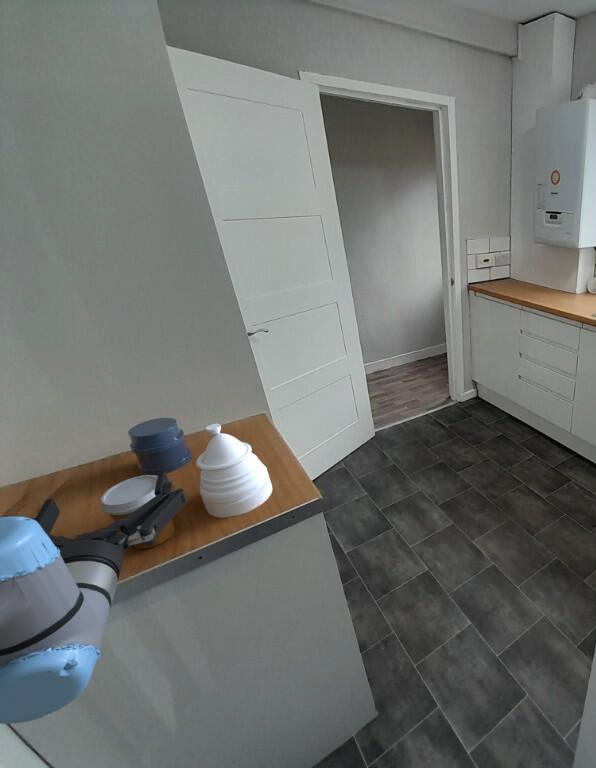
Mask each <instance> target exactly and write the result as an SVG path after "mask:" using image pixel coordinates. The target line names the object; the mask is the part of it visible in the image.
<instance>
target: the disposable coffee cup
mask: <svg viewBox="0 0 596 768" xmlns="http://www.w3.org/2000/svg"><path fill="white" fill-rule="evenodd" d="M157 478H158V476H155V475H143V474H142V475H137V476H135V477H131V478H128V479H125V480H122V481H121V482H118V483H117V484H115V485H113V486H111V487H110V488H108V489H107V490H106V491H105V492H104V493H103V494H102V496H101V498H100V502H101V503H100V509H101V511H102V512H105V513H106V514H108V515H109V516H110V517H111V519H112V520H113V522H115V521H116V520H118V519H124V518H126V517H127V516H128V515H130V514H131V513H133V512H134V511H135V510H137V509H138V508H140V507H141V506H143V505H144V504H145V503H147V502H148V501H150V500H151V499H152V498H154V497H155V493H154V491H155V487H156V482H157ZM175 531H176V530H175V525H174V521H173V518H172V519H171V521H170V522H169V523H168V524H167V525H166V526H165V527H164V528H163V529H162V530H161V532H160V533H159V534H158V536H157V539H156V541H155V543H154V544H152V545H149V546H145V544H144V542H142V543H138V544H134V545H133V546H134V547H135V548H137V549H142V550H145V549H150V548H154V547H156V546H159V545H161V544H162V543H165V542H166V541H168V540H169V539H170V538H171V537H172V536H173V534H174V533H175Z"/></svg>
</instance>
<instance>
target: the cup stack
mask: <svg viewBox="0 0 596 768" xmlns="http://www.w3.org/2000/svg"><path fill="white" fill-rule="evenodd" d="M127 435H128V437H129V439H130V444H129V447H130V450H131V452H132V453H133V454H135V456H136V459H137V461H138V464H137V467H138V470H139V471H140V473H141V475H142V476H143V475H155V476H158V473H159V472H160V471H165V473H166V474H169V473H172V472H175V471H177V470H179V469H181V468H183V467H184V466H186V465H187V464H188V463H191V462H192V461H193V454H192V451H191V449H190V448H188V446H187V443H186V441H185V438H186V434H185V432H184V430H183V429H181V428H180V426H179V424H178V420H177V419H176V418H173V417H158V418H153V419H149V420H145V421H143V422H140V423H138V424H136V425H134V426H132V427H131V428H130V429H128V431H127Z"/></svg>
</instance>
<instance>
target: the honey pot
mask: <svg viewBox="0 0 596 768" xmlns="http://www.w3.org/2000/svg"><path fill="white" fill-rule="evenodd" d="M221 429H222V427H221V424H220V423H212V424H209V425H207V426H206V427H205V430H206V432H207V433H208V434H209V435H211V436H213V437H212V438H211V439H210V440H209V442H208V444H207V446H206V448H205V451H203V452H202V453H201V454H200V455H199V456H198V457H197V458H196V466H197V468H198V469H200V470H201V471H200V474H199V475H200V476H199V478H200V481H199V482H200V483H199V489H198V490H199V491H198V492H199V494H200V497H201V499H202V502H203V504H204V507H205V509H206V511H207V512H208V514H209V515H211V516H212V517H216V518H231V517H232V518H233V517H237V516H240V515H243V514H247V513H248V512H251V511H253V510H255V509H256V508H258V507H260V506H261V505H262V504H264V503H265V502H266V501H267V500H268V499H269V498H270V496H271V495H272V492H273V484H272V481H271V477H270V475H269V472H268V468H267V467H266V465H265V464H264V463H263V462H262V461H261V460H260V459H259V457H258V456H257V455H256V454H254V453H253V452H252V451H253V450H252V446H251V444H249V443H247V442H244V441H241V440H239V439H238V438H236V437H235V436H233V435H231V434H228V433H221Z"/></svg>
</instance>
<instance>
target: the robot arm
mask: <svg viewBox="0 0 596 768" xmlns="http://www.w3.org/2000/svg"><path fill="white" fill-rule="evenodd" d="M154 493H155V497H154V498H152V499H151V500H150V501H148V502H147V503H145V504H144V505H143V506H141V507H140V508H138V509H137V510H135V511H134V512H133V513H131V514H130V515H128V516H127V517H126V518H124V519H118V520H116V521H113V522H112V523H110V524H109V525H107V526H106V527H103V528H102V527H101V528H99V529H97V530H93V531H91V532H85V533H80V534H77V535H76V536H75V537H73V538H69V537H65V536H63V535H58V536H55V535H53V534H51V531H52V530H53V528H54V526H55V524H56V522H57V520H58V518H59V516H60V515H61V510H60V508H59V506H58V505H57V503H56V501H55V499H54V498H48V499H46V500H45V501H44V503H43V504H42V506H41V507H40V509H39V511H38V513H37V515H36V516H35V517H32V518H29V517H26V516H4V517H0V724H4V725H14V724H15V725H16V724H22V723H28V722H33V721H35V720H40V719H41V718H43V717H45V716H47V715H49V714H52V713H55V712H57V711H60V710H61V709H63V708H64V707H67V705H69V704H71V703H72V702H73V701H75V700H76V699H77V698H78V697H79V696H80V695H81V694H82V693H83V692H84V690H86V688H87V686H88V685H89V683H90V681H91V678H92V675H93V671H94V669H95V666H96V663H97V662H98V661H99V659H100V658H101V647H102V643H103V640H104V636H105V631H106V626H107V624H108V623H107V622H108V620H109V614H110V611H111V607H112V604H113V600H114V598H115V597H114V596H115V593H116V589H117V585H118V581H119V580H120V576H121V571H122V567H123V565H124V559H125V553H126V552H127V551H128V550H129V549H130V548H131V546H135V545H134V544H138V543H142V542H144V544H145V546H149V545H152V544H154V543H155V541H156V539H157V536H158V534H159V533H160V532H161V530H162V529H163V528H164V527H165V526H166V525H167V524H168V523H169V522H170V521H171V519H172V520H173V518H174V517H175V516H176V515H177V514H178V513H179V512H180V511H181V510H182V509H183V508H184V506H185V505H186V504H187V503H188V499H187V497H186V494H185V491H184V489H183V488H178V489H175V487H174V484H173V482H172V481H170V480H169V478H168V475H167V473H165V471H160V472H159V473H158V478H157V482H156V487H155V491H154Z"/></svg>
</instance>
